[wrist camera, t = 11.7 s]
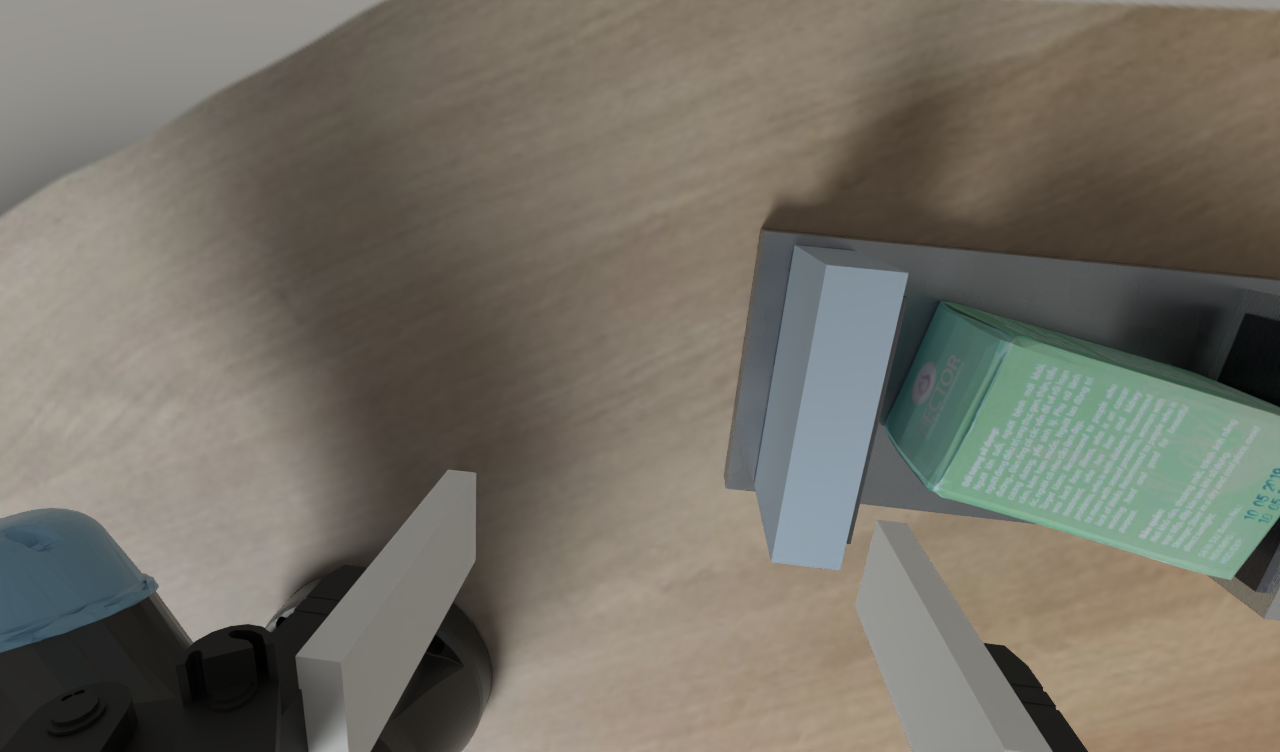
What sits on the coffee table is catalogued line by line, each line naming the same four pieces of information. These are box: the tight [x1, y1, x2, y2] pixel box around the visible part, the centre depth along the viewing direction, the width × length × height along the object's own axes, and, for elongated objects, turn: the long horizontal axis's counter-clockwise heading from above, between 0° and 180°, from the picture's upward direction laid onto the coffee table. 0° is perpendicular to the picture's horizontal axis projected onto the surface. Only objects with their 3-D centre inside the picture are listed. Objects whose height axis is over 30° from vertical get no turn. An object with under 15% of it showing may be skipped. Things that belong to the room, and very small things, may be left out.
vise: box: [724, 229, 1280, 621], centre depth 28 cm, size 26×14×8 cm, turn 85°
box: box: [886, 301, 1280, 580], centre depth 27 cm, size 7×14×8 cm, turn 75°
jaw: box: [754, 245, 909, 570], centre depth 28 cm, size 3×13×7 cm, turn 175°
